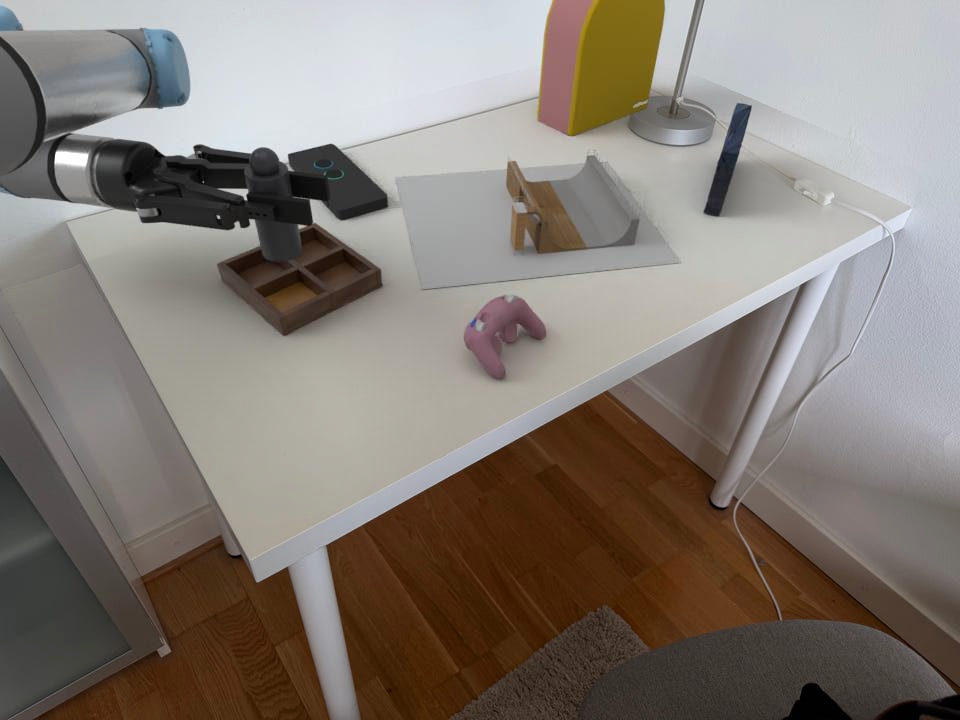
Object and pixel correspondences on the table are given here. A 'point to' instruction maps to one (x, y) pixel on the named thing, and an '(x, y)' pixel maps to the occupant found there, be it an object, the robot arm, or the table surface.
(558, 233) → the skate ramp
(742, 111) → the vhs cassette tape
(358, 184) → the smart home device
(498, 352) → the video game controller
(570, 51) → the yellow and pink slab
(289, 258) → the pawn
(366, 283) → the grid
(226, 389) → the table surface
